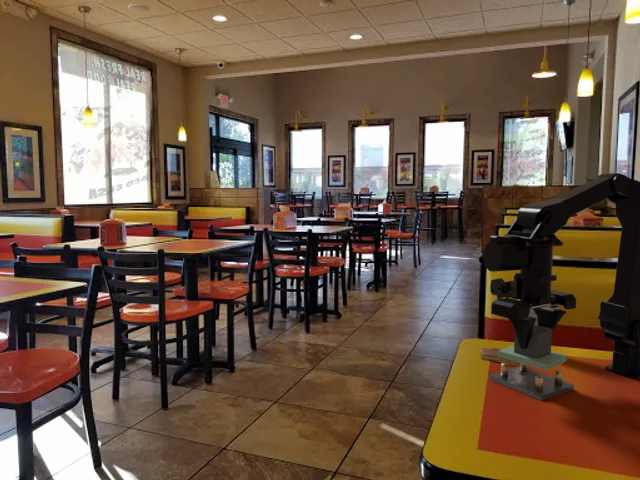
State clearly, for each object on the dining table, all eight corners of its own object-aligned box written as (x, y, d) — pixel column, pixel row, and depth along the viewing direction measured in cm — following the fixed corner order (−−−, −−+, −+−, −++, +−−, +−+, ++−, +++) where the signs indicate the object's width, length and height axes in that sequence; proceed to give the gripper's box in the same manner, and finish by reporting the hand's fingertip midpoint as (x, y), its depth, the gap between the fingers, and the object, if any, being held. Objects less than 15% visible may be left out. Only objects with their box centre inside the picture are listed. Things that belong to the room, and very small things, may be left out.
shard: (526, 370, 107) (526, 362, 107) (491, 371, 107) (491, 363, 107) (505, 354, 118) (506, 347, 118) (474, 355, 118) (474, 347, 118)
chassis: (521, 370, 106) (522, 354, 106) (573, 389, 96) (574, 372, 96) (489, 379, 101) (490, 362, 101) (541, 400, 91) (542, 382, 91)
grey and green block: (518, 348, 104) (519, 319, 104) (566, 361, 97) (568, 330, 96) (498, 356, 99) (499, 326, 99) (547, 370, 92) (548, 338, 91)
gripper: (531, 260, 108) (528, 329, 109) (470, 267, 99) (468, 343, 100) (579, 267, 98) (575, 343, 100) (517, 275, 89) (514, 359, 91)
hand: (532, 346), depth 98 cm, fingers closed on grey and green block, 5 cm apart
